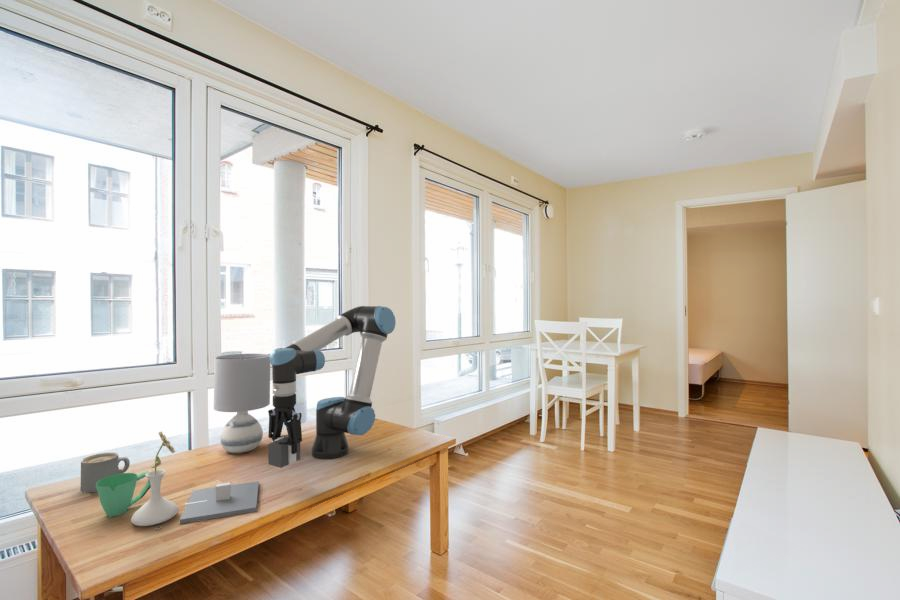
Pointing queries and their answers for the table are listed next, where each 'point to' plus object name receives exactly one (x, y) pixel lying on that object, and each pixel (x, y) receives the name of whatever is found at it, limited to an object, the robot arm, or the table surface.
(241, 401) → the lamp
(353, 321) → the robot arm
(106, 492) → the mug
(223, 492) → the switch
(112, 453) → the coffee mug
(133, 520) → the flower in vase
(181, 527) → the table surface
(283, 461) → the knob
